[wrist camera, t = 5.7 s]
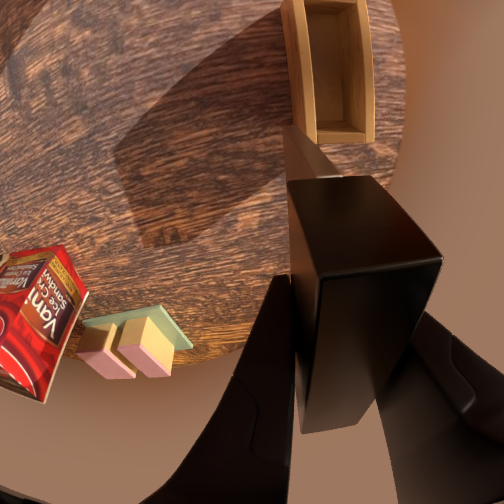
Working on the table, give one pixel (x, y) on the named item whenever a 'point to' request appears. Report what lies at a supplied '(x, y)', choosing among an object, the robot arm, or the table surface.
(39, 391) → the ice cream box
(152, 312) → the cake plate
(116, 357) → the cake
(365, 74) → the knife holder
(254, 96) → the table surface
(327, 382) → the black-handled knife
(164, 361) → the cake slice
